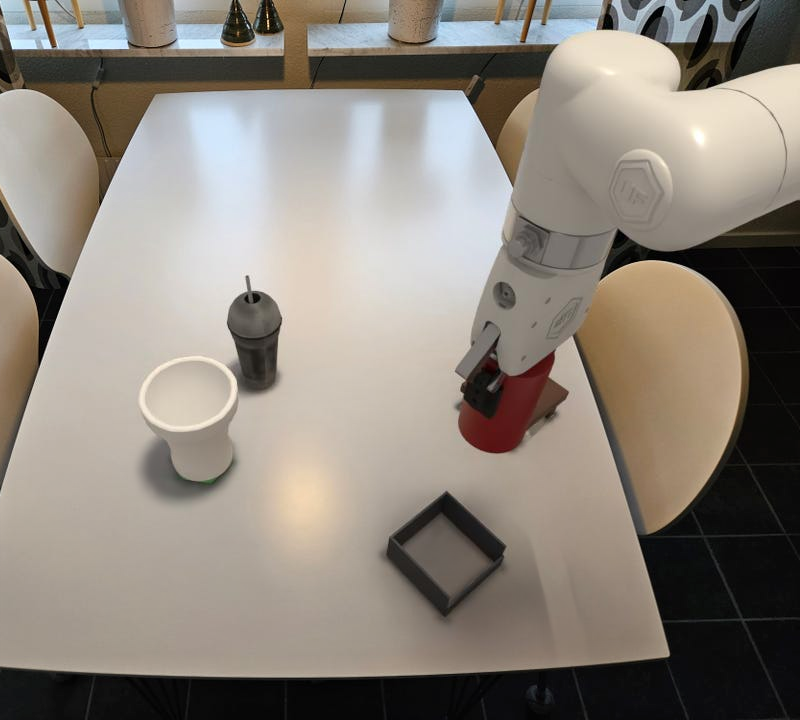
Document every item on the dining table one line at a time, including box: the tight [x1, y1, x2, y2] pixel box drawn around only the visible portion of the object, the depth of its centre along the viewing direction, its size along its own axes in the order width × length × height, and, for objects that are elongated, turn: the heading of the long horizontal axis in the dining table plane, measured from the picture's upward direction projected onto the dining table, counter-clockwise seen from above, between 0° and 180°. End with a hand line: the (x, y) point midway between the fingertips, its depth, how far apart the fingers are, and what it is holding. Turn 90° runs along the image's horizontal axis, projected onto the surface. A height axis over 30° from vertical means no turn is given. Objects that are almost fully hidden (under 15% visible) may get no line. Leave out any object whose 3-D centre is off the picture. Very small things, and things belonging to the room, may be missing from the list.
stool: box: [459, 376, 570, 432], centre depth 88 cm, size 10×10×5 cm
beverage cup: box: [226, 274, 283, 390], centre depth 86 cm, size 7×7×20 cm
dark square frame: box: [385, 490, 508, 618], centre depth 73 cm, size 9×9×4 cm
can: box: [457, 351, 556, 455], centre depth 59 cm, size 6×6×11 cm
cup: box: [138, 355, 239, 485], centre depth 78 cm, size 11×11×14 cm
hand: (504, 386), depth 59 cm, fingers closed on can, 6 cm apart
